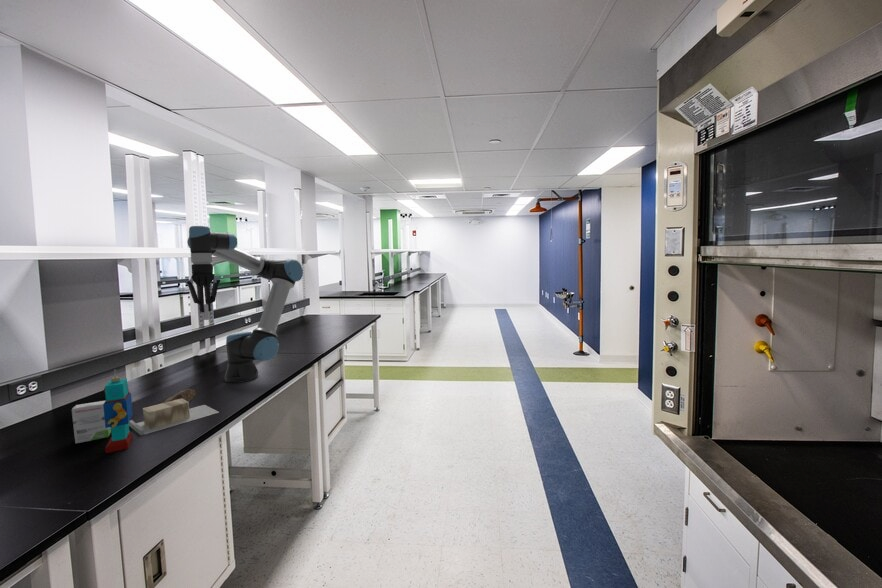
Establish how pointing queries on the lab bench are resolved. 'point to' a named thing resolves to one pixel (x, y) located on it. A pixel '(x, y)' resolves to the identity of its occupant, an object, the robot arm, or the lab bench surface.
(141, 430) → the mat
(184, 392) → the rock
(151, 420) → the block
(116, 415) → the toy robot
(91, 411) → the ink box
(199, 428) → the lab bench surface
